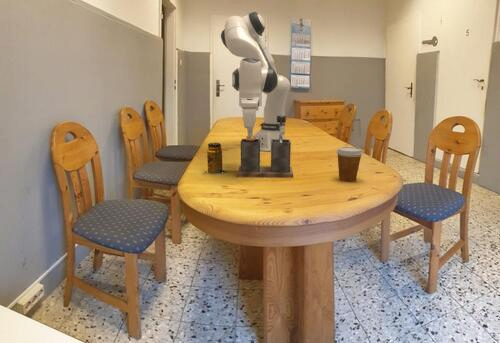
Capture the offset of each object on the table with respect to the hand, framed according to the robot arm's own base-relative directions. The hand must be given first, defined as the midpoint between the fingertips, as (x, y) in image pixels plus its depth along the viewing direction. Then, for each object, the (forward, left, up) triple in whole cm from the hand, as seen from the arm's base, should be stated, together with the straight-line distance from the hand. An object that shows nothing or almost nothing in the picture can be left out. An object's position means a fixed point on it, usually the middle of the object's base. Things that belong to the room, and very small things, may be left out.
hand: (250, 136), depth 148 cm
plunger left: (0, 0, -12) cm, 12 cm away
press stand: (+5, +3, -15) cm, 16 cm away
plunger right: (+10, +6, -4) cm, 13 cm away
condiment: (-13, -6, -15) cm, 21 cm away
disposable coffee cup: (+36, +13, -15) cm, 42 cm away
